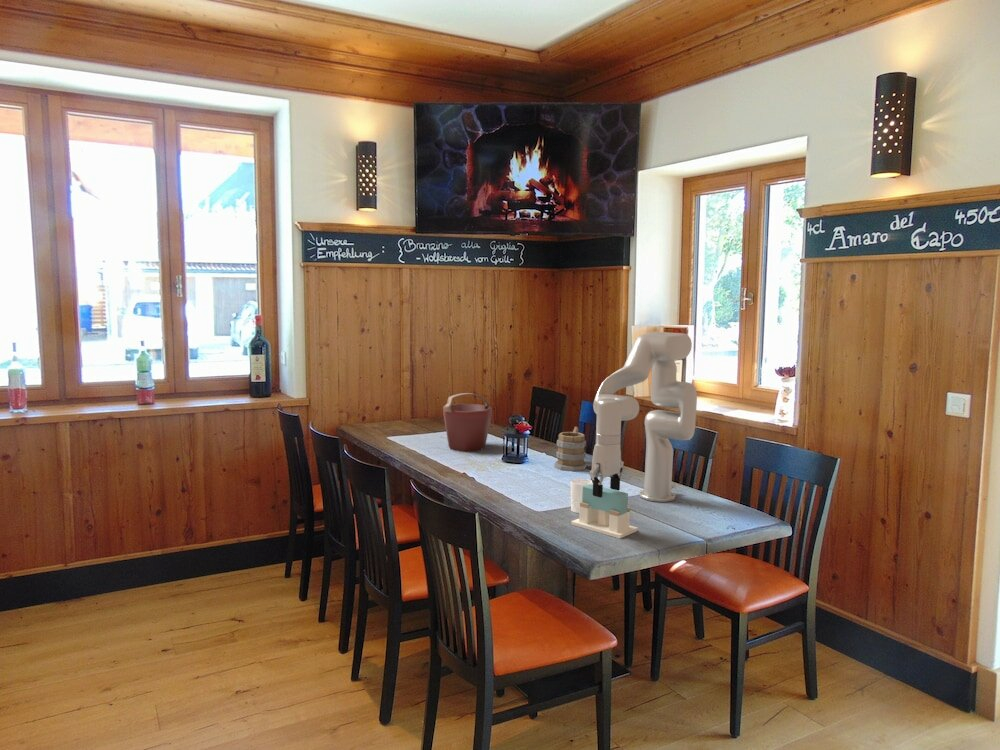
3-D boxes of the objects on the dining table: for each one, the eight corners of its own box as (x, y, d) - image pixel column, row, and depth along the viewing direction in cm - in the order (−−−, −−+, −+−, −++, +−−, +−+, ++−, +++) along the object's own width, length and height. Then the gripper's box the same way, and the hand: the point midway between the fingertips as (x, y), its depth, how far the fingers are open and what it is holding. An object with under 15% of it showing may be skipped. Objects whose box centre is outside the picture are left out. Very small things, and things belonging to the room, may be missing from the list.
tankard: (582, 472, 294) (583, 436, 292) (551, 469, 297) (553, 433, 296) (591, 461, 312) (593, 427, 311) (563, 458, 316) (564, 424, 314)
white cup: (591, 507, 247) (592, 478, 246) (594, 514, 239) (596, 485, 238) (567, 507, 247) (569, 478, 245) (570, 514, 239) (572, 484, 238)
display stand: (589, 517, 236) (590, 495, 235) (637, 530, 224) (638, 508, 223) (571, 524, 228) (571, 502, 228) (620, 538, 217) (621, 515, 216)
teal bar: (589, 502, 232) (590, 484, 231) (627, 512, 223) (628, 493, 222) (582, 505, 229) (582, 486, 228) (620, 515, 220) (620, 496, 219)
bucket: (447, 454, 319) (448, 398, 316) (432, 443, 339) (433, 390, 336) (499, 450, 328) (500, 396, 325) (481, 440, 348) (482, 389, 345)
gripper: (613, 432, 232) (611, 484, 234) (581, 441, 219) (580, 496, 222) (633, 436, 227) (631, 489, 229) (602, 446, 214) (600, 501, 217)
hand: (606, 492), depth 225 cm, fingers open, 9 cm apart
